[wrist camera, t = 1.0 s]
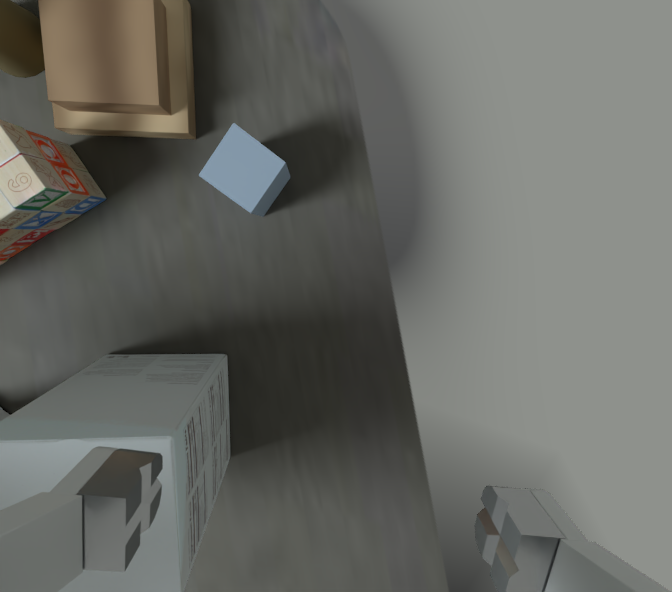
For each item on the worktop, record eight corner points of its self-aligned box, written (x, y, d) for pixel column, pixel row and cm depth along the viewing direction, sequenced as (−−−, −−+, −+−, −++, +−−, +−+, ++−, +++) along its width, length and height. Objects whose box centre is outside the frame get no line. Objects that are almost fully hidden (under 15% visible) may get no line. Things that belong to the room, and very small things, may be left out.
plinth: (71, 134, 37) (31, 118, 32) (58, -2, 35) (13, -44, 30) (196, 139, 38) (177, 124, 33) (190, 6, 36) (170, -33, 31)
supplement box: (114, 462, 44) (-10, 613, 27) (104, 352, 42) (-40, 440, 24) (232, 459, 45) (185, 602, 28) (228, 351, 42) (174, 435, 25)
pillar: (263, 216, 40) (250, 213, 31) (223, 187, 39) (198, 175, 31) (290, 177, 40) (285, 162, 31) (250, 146, 39) (233, 122, 30)
